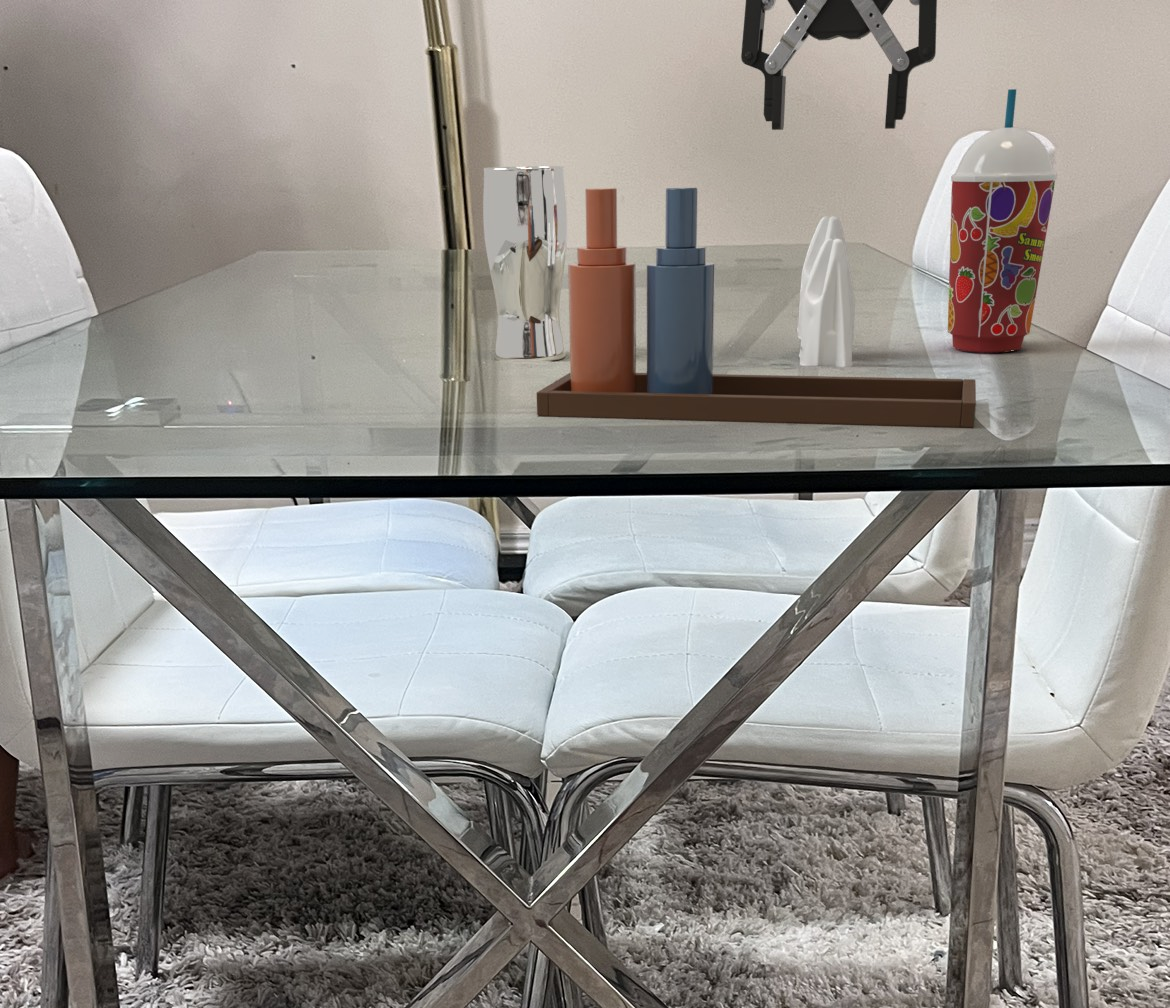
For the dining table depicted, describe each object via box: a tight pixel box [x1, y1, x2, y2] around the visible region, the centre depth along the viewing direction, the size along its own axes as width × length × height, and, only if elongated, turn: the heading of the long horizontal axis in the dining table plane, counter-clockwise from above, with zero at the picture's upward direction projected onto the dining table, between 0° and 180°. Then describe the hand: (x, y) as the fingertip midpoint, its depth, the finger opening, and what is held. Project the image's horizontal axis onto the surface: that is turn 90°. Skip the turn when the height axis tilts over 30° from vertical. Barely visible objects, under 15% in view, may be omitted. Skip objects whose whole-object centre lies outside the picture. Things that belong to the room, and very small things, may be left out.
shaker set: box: [796, 215, 856, 368], centre depth 112 cm, size 12×4×11 cm, turn 174°
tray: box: [536, 372, 977, 429], centre depth 92 cm, size 28×9×2 cm, turn 76°
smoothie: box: [947, 88, 1058, 354], centre depth 116 cm, size 8×8×20 cm
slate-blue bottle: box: [646, 186, 716, 394], centre depth 91 cm, size 4×4×14 cm
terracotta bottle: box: [567, 187, 637, 393], centre depth 92 cm, size 4×4×14 cm
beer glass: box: [482, 165, 568, 362], centre depth 117 cm, size 7×7×15 cm
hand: (833, 129), depth 107 cm, fingers open, 8 cm apart
